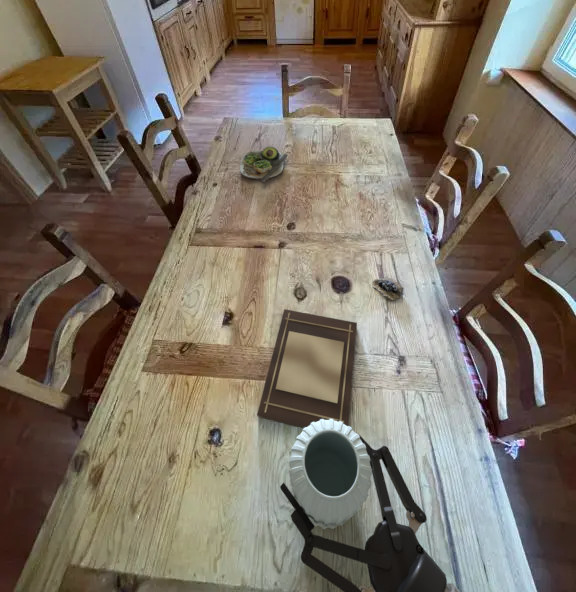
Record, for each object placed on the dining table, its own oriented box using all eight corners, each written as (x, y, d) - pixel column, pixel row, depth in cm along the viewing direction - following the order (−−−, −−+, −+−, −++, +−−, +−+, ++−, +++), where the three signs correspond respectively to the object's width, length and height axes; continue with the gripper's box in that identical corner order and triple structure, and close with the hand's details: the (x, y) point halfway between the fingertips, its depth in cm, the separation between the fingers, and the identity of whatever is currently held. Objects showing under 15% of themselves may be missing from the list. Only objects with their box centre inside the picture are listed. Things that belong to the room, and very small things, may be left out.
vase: (301, 539, 56) (299, 531, 41) (286, 456, 65) (281, 424, 49) (366, 519, 58) (389, 505, 42) (344, 441, 66) (356, 405, 51)
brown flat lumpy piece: (398, 305, 86) (399, 301, 85) (367, 292, 89) (368, 288, 88) (405, 285, 91) (407, 281, 89) (376, 273, 94) (377, 269, 92)
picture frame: (346, 439, 66) (346, 437, 65) (257, 417, 70) (256, 414, 68) (356, 325, 83) (357, 322, 82) (284, 311, 86) (284, 308, 85)
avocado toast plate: (285, 185, 122) (285, 175, 119) (236, 185, 123) (234, 175, 120) (288, 153, 136) (287, 143, 132) (243, 154, 137) (242, 144, 133)
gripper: (369, 708, 40) (254, 522, 52) (468, 523, 51) (355, 404, 63) (378, 730, 35) (249, 518, 47) (487, 519, 46) (360, 391, 58)
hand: (310, 453), depth 55 cm, fingers closed on vase, 11 cm apart
